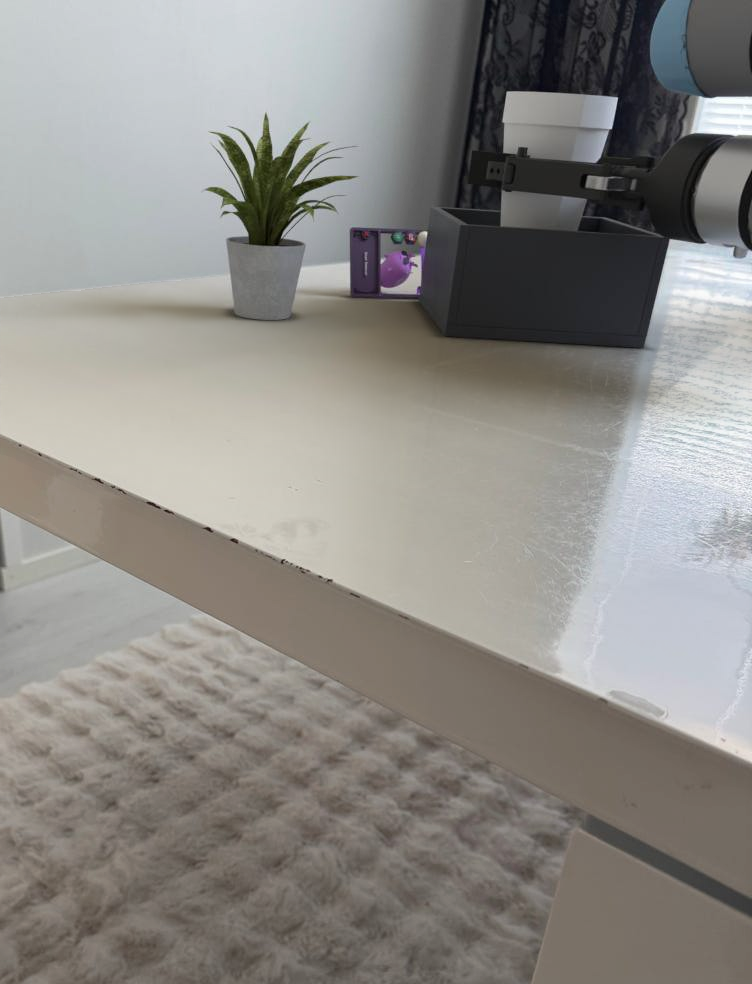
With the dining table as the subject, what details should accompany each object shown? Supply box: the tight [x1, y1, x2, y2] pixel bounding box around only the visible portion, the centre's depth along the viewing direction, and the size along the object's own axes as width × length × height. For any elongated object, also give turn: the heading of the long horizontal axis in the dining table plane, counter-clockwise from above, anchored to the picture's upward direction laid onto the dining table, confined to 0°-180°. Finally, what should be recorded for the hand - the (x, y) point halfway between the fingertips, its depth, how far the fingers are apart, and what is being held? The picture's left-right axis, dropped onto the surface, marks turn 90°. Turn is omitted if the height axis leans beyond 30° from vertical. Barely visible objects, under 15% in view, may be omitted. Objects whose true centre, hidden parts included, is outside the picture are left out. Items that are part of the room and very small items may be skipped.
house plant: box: [201, 111, 359, 321], centre depth 82 cm, size 14×14×16 cm
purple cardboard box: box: [349, 226, 428, 299], centre depth 101 cm, size 7×5×9 cm
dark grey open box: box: [418, 206, 671, 349], centre depth 89 cm, size 18×18×9 cm
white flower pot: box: [500, 90, 619, 231], centre depth 85 cm, size 10×9×13 cm
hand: (513, 168), depth 88 cm, fingers closed on white flower pot, 9 cm apart
